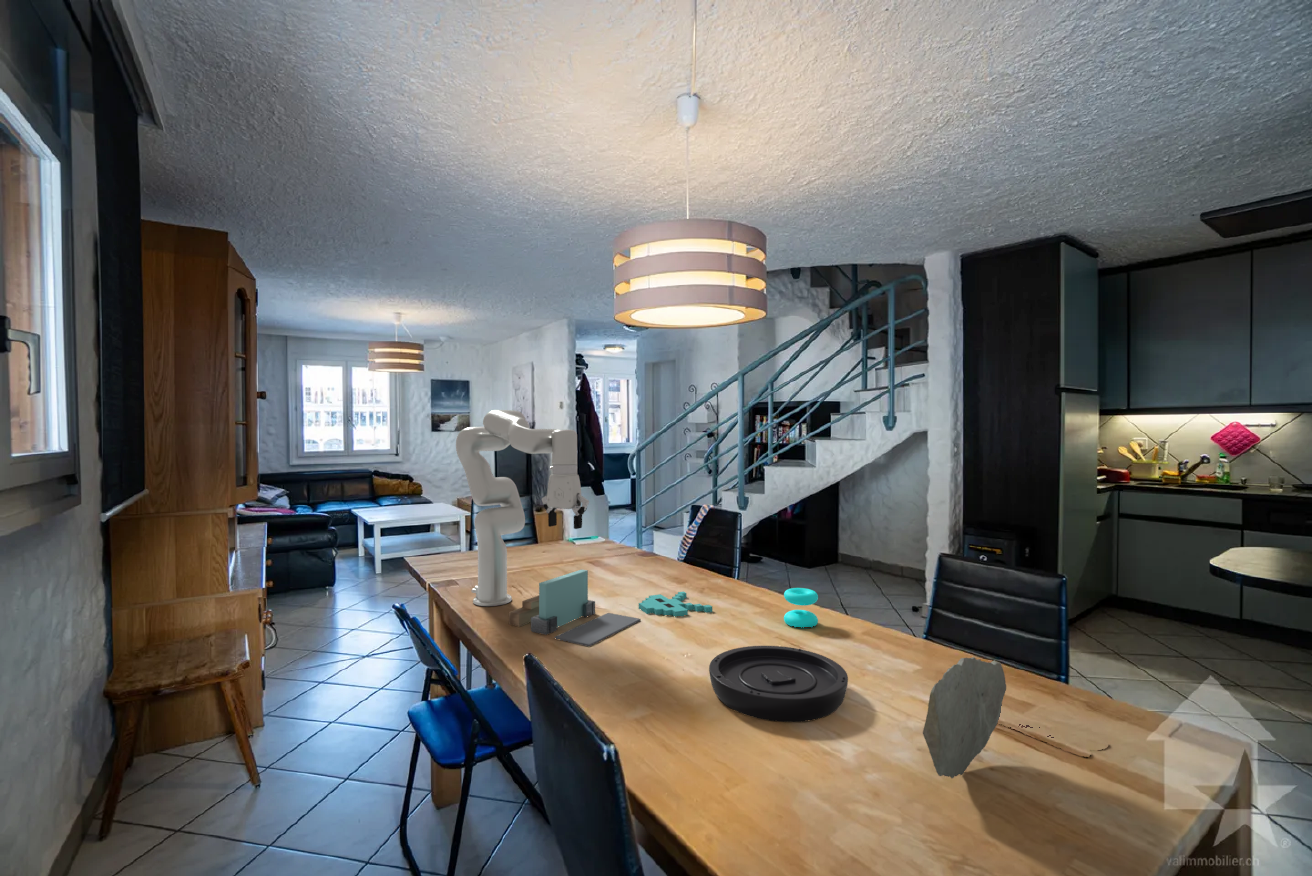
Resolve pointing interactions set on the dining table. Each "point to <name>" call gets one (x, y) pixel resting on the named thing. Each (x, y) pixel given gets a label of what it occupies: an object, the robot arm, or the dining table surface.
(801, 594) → the donuts
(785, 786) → the dining table surface
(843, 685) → the round tray
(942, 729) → the rock
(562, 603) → the teal sheet
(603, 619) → the rubber mat
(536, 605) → the offcut stack
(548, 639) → the dining table surface
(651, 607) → the alien figure
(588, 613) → the slab rack
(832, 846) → the dining table surface
